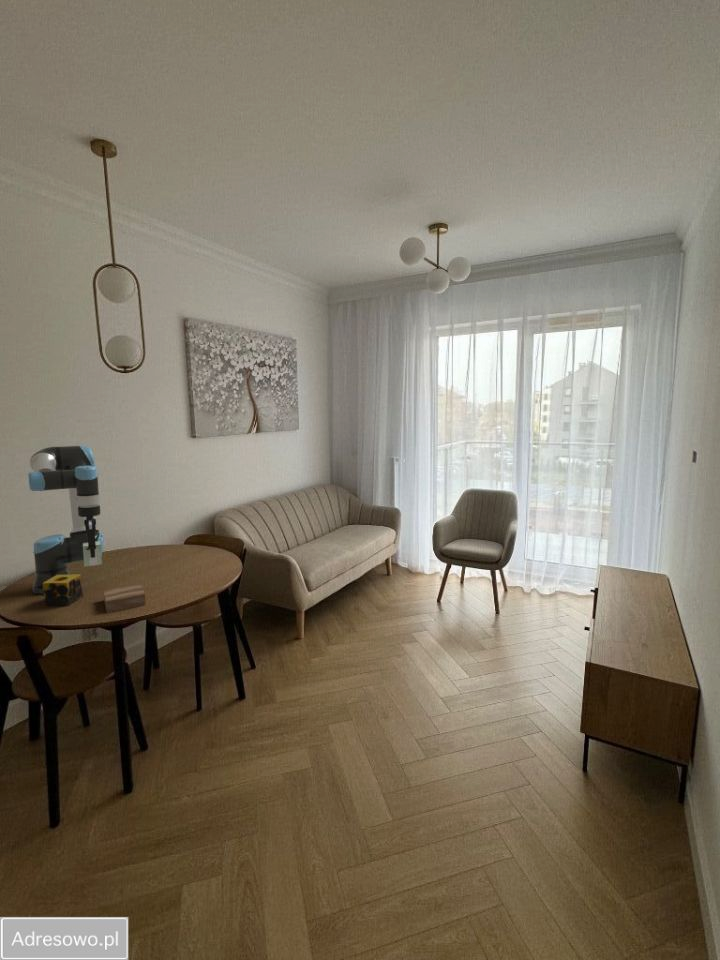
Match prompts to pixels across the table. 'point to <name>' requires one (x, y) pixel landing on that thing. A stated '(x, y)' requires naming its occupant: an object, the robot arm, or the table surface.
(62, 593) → the candle
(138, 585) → the walnut block
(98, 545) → the sage block
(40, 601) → the table surface
